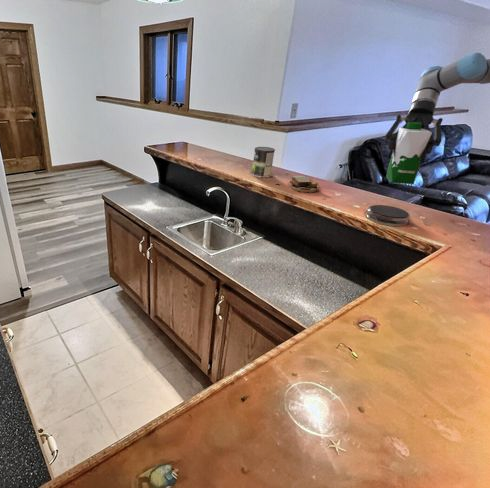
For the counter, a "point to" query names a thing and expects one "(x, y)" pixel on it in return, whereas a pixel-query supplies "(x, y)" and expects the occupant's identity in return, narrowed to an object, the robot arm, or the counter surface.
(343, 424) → the counter surface
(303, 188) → the toy sandwich meal
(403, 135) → the soya milk
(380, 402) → the counter surface
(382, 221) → the stand
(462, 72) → the robot arm
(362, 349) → the counter surface
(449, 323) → the counter surface
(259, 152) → the coffee can
